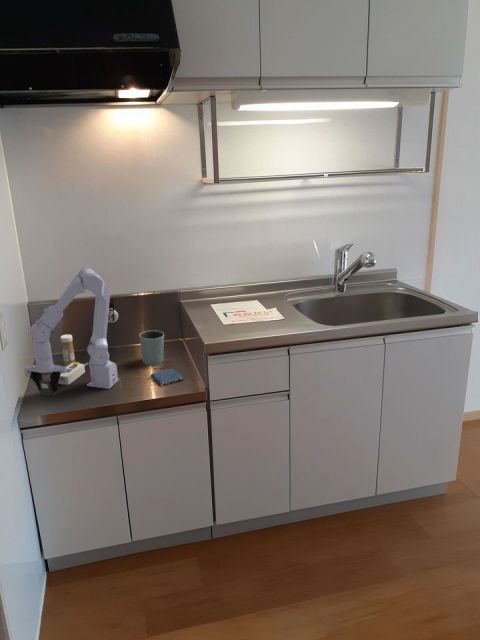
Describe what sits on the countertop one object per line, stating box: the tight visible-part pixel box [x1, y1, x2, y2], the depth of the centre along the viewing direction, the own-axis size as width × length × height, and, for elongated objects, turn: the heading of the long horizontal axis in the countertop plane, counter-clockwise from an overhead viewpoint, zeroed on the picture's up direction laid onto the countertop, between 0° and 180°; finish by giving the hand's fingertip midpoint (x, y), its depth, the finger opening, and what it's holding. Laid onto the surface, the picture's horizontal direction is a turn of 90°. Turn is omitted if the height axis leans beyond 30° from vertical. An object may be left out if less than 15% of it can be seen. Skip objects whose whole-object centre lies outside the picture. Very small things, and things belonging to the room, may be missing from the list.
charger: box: [39, 375, 59, 397], centre depth 189 cm, size 4×6×6 cm, turn 165°
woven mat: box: [150, 368, 186, 387], centre depth 200 cm, size 10×11×2 cm
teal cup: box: [138, 329, 165, 366], centre depth 214 cm, size 10×10×12 cm
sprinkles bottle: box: [60, 334, 76, 367], centre depth 209 cm, size 5×5×13 cm
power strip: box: [58, 361, 89, 386], centre depth 204 cm, size 6×19×4 cm, turn 165°
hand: (48, 390), depth 188 cm, fingers closed on charger, 5 cm apart
